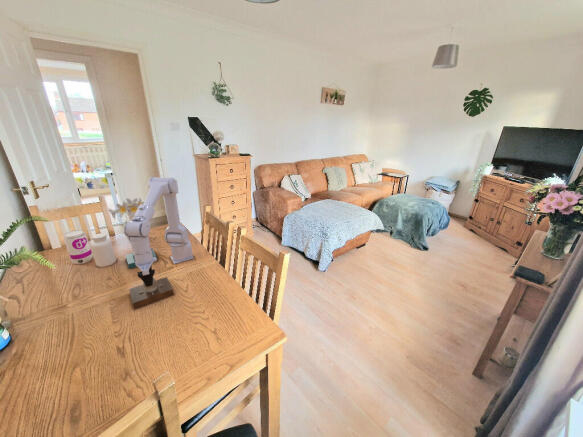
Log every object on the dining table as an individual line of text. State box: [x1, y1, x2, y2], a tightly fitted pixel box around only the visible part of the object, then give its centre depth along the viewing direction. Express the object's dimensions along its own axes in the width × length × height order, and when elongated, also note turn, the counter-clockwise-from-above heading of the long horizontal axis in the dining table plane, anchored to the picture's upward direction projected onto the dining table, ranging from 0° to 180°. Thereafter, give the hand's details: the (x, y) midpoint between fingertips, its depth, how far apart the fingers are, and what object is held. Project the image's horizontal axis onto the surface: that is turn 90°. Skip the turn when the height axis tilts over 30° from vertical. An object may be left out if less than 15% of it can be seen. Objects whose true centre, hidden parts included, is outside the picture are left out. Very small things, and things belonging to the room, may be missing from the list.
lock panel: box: [128, 276, 175, 310], centre depth 97 cm, size 14×10×3 cm
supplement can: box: [62, 229, 94, 265], centre depth 115 cm, size 8×8×15 cm
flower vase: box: [106, 197, 145, 240], centre depth 133 cm, size 13×18×25 cm
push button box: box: [125, 248, 158, 270], centre depth 119 cm, size 12×10×4 cm
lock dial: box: [142, 277, 157, 293], centre depth 96 cm, size 4×4×4 cm
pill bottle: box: [89, 232, 117, 268], centre depth 114 cm, size 8×8×15 cm
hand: (149, 280), depth 95 cm, fingers open, 7 cm apart
